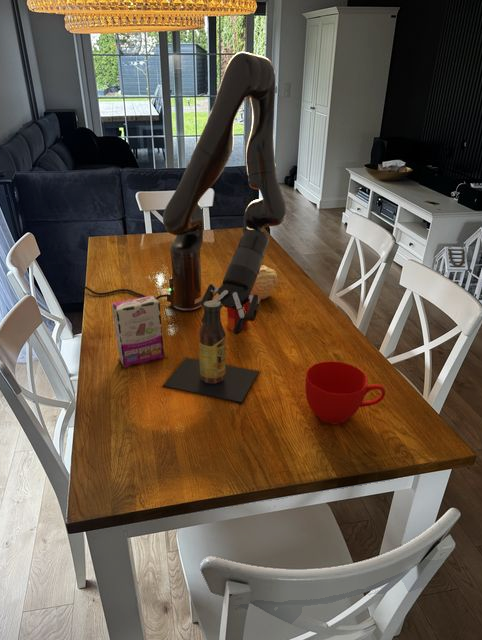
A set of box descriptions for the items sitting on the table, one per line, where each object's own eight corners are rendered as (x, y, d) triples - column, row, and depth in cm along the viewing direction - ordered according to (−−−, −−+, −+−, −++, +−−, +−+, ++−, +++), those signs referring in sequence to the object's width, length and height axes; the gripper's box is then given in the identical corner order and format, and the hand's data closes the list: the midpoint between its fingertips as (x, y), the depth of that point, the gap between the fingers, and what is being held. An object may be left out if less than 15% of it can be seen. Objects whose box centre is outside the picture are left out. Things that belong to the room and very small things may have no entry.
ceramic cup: (382, 439, 101) (390, 399, 96) (300, 429, 104) (304, 390, 99) (377, 402, 112) (384, 365, 108) (303, 395, 115) (307, 358, 110)
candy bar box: (158, 349, 133) (154, 294, 125) (164, 358, 129) (160, 301, 121) (118, 359, 128) (110, 302, 120) (123, 368, 125) (116, 310, 116)
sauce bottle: (222, 386, 117) (222, 311, 107) (197, 383, 118) (194, 308, 108) (227, 372, 123) (228, 299, 113) (203, 369, 124) (202, 297, 114)
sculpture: (249, 305, 158) (250, 274, 153) (234, 292, 168) (234, 262, 162) (280, 300, 162) (282, 269, 157) (263, 287, 172) (265, 257, 166)
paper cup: (253, 323, 147) (255, 280, 140) (246, 334, 141) (247, 289, 134) (229, 319, 149) (229, 276, 142) (220, 330, 143) (220, 286, 136)
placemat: (162, 386, 117) (162, 385, 117) (186, 358, 129) (185, 357, 129) (241, 403, 112) (241, 402, 112) (258, 372, 123) (258, 371, 123)
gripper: (213, 258, 121) (188, 317, 118) (265, 268, 115) (240, 331, 112) (223, 271, 127) (201, 328, 124) (273, 282, 121) (250, 342, 118)
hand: (220, 329), depth 118 cm, fingers open, 8 cm apart
